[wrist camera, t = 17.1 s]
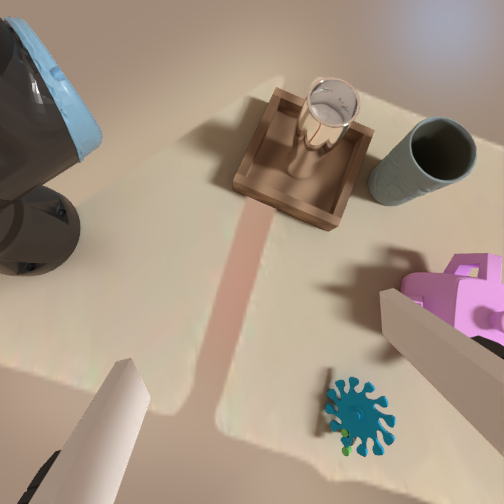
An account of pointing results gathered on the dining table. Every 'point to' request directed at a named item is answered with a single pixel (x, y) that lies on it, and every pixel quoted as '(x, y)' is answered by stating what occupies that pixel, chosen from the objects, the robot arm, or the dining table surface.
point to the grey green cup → (424, 162)
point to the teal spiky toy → (359, 417)
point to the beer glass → (321, 124)
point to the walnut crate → (292, 189)
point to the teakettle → (463, 295)
